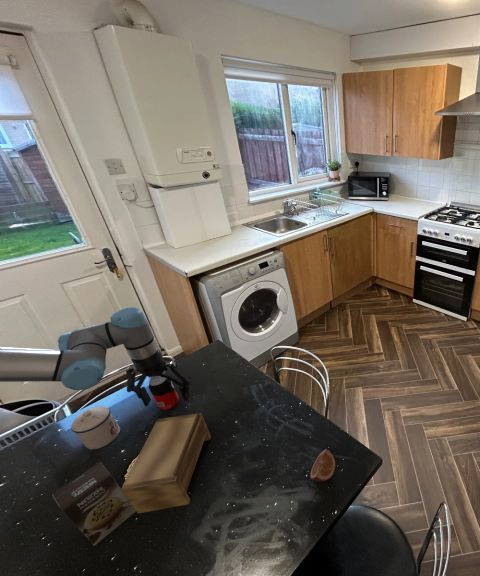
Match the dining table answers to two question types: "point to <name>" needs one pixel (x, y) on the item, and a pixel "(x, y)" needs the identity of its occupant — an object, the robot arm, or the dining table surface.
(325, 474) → the fruit slice
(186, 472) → the tan boxy piece
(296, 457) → the dining table surface
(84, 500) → the brown cardboard box
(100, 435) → the white round tub
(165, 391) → the beverage can
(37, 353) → the robot arm
